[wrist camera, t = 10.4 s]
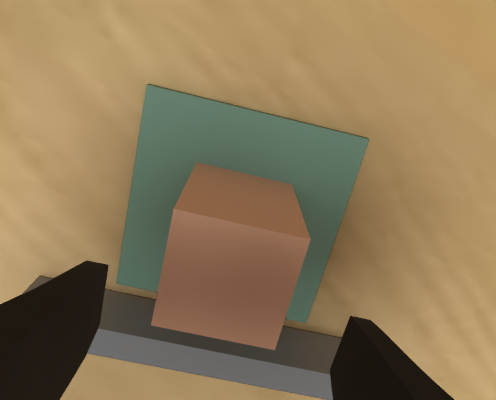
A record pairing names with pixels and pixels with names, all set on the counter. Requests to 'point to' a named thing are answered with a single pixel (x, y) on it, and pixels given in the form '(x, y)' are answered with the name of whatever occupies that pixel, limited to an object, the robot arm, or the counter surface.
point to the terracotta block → (231, 257)
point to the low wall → (212, 349)
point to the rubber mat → (241, 160)
